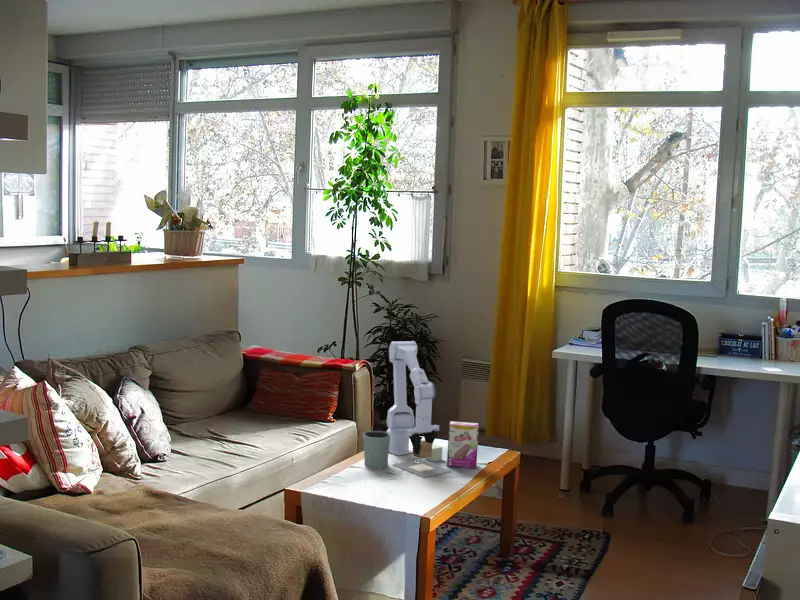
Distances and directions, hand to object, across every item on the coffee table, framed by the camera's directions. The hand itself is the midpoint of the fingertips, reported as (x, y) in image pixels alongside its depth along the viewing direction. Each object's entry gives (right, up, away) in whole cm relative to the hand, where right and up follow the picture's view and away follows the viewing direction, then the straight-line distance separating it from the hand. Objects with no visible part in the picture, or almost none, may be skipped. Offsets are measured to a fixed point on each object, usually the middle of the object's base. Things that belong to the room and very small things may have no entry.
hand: (422, 452), depth 315 cm
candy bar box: (+15, -6, +6) cm, 17 cm away
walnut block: (0, -1, 0) cm, 1 cm away
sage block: (+4, -5, +14) cm, 15 cm away
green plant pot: (-17, -6, +3) cm, 18 cm away
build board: (0, -6, +1) cm, 6 cm away
